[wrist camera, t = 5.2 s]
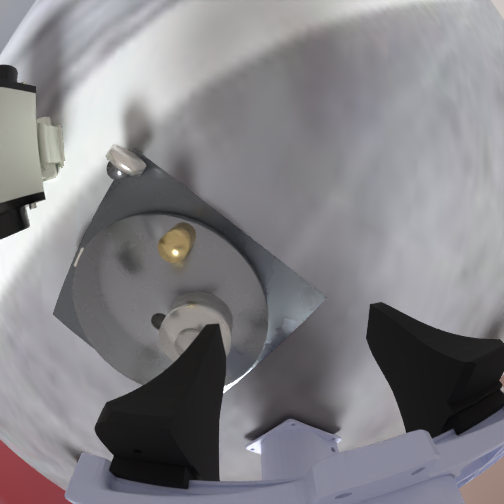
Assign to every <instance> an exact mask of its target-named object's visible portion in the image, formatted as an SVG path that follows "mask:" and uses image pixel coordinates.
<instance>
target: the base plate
mask: <svg viewBox="0 0 504 504" xmlns="http://www.w3.org/2000/svg"><path fill="white" fill-rule="evenodd" d="M132 153H134V154H135V155H137V156H138V157H139V158H141V159H142V160H143V161H144V163H145V164H146V168H145V169H144V171H143V173H142V174H141V175H140V176H139V177H136V176H133V177H127V178H121V179H114V181H113V183H112V184H111V186H110V188H109V190H108V191H107V193H106V195H105V197H104V198H103V200H102V202H101V204H100V206H99V208H98V209H97V211H96V213H95V215H94V217H93V219H92V221H91V223H90V225H89V227H88V229H87V231H86V233H85V235H84V237H83V239H82V242H81V244H80V246H79V248H78V250H77V253H76V255H75V257H74V259H73V262H72V264H71V267H70V269H69V271H68V274H67V276H66V279H65V281H64V284H63V287H62V289H61V292H60V295H59V298H58V300H57V303H56V306H55V309H54V312H53V315H54V316H55V317H56V318H57V319H59V320H60V321H61V322H62V323H63V324H64V325H66V326H67V327H68V328H69V329H70V330H71V331H73V332H74V333H75V334H76V335H78V336H79V337H80V338H81V339H83V340H84V341H85V342H86V343H88V344H89V345H90V346H91V347H93V346H92V345H91V343H90V342H89V340H88V339H87V337H86V335H85V334H84V332H83V329H82V327H81V325H80V323H79V320H78V317H77V314H76V311H75V306H74V301H73V277H74V272H75V268H76V267H75V266H74V263H75V261H76V259H77V257H78V254H79V252H80V250H81V248H82V247H83V246H84V245H86V244H88V243H89V242H90V241H91V239H92V238H93V237H95V236H96V235H97V234H98V233H99V232H100V231H102V230H103V229H105V228H106V227H108V226H109V225H111V224H113V223H115V222H117V221H119V220H122V219H124V218H126V217H129V216H133V215H137V214H141V213H152V212H160V213H172V214H177V215H182V216H186V217H189V218H192V219H194V220H197V221H200V222H202V223H204V224H206V225H208V226H210V227H212V228H213V229H215V230H216V231H218V232H219V233H221V234H222V235H224V236H225V237H227V238H228V239H229V240H230V241H231V242H232V243H233V244H235V245H236V246H237V247H238V248H239V249H240V251H241V252H242V253H243V254H244V255H245V256H246V257H247V259H248V260H249V262H250V263H251V265H252V266H253V268H254V269H255V271H256V273H257V275H258V277H259V279H260V281H261V283H262V287H263V290H264V293H265V297H266V303H267V309H268V332H267V338H266V341H265V344H264V348H263V350H262V352H261V354H260V356H259V358H258V359H257V361H256V362H255V363H254V365H253V366H252V367H251V368H250V369H249V370H248V371H247V372H246V373H245V374H244V375H243V376H241V377H240V378H239V379H237V380H236V381H234V382H232V383H231V384H229V385H227V386H225V387H224V391H223V393H224V392H226V391H227V390H228V389H229V388H231V387H232V386H233V385H234V384H235V383H237V382H238V381H239V380H240V379H241V378H242V377H244V376H245V375H246V374H247V373H248V372H249V371H251V370H252V369H253V368H254V367H255V366H256V365H257V364H258V363H260V362H261V361H262V360H263V359H264V358H265V357H266V356H267V355H268V354H270V353H271V352H272V351H273V350H274V349H275V348H276V347H277V346H278V345H279V344H280V343H282V342H283V341H284V340H285V339H286V338H287V337H288V336H289V335H290V334H291V333H292V332H293V331H294V330H295V329H296V328H297V327H298V326H299V325H300V324H301V323H302V322H303V321H304V320H305V319H306V318H307V317H308V316H309V315H310V314H311V313H312V312H313V311H314V310H315V309H316V308H317V307H318V306H319V305H320V304H321V303H322V302H323V301H324V300H325V299H326V298H327V297H325V296H324V295H323V294H322V293H320V292H319V291H318V290H317V289H315V288H314V287H313V286H312V285H310V284H309V283H308V282H306V281H305V280H304V279H303V278H301V277H300V276H299V275H298V274H296V273H295V272H294V271H293V270H291V269H290V268H289V267H287V266H286V265H285V264H284V263H282V262H281V261H280V260H279V259H277V258H276V257H275V256H273V255H272V254H271V253H270V252H268V251H267V250H266V249H265V248H263V247H262V246H261V245H259V244H258V243H257V242H256V241H254V240H253V239H252V238H250V237H249V236H248V235H247V234H245V233H244V232H243V231H241V230H240V229H239V228H238V227H236V226H235V225H234V224H232V223H231V222H230V221H229V220H227V219H226V218H225V217H223V216H222V215H221V214H220V213H218V212H217V211H216V210H214V209H213V208H212V207H210V206H209V205H208V204H207V203H205V202H204V201H203V200H201V199H200V198H199V197H197V196H196V195H195V194H194V193H192V192H191V191H190V190H188V189H187V188H186V187H184V186H183V185H182V184H181V183H179V182H178V181H177V180H175V179H174V178H173V177H171V176H170V175H169V174H167V173H166V172H165V171H163V170H162V169H161V168H160V167H158V166H157V165H156V164H154V163H153V162H152V161H150V160H149V159H148V158H146V157H145V156H144V155H142V154H141V153H140V152H138V151H137V150H136V149H133V151H132ZM93 348H94V347H93Z"/></svg>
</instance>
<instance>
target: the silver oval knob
mask: <svg viewBox="0 0 504 504" xmlns="http://www.w3.org/2000/svg"><path fill="white" fill-rule="evenodd" d="M106 157H107V159H108V160H109V163H108V165H107V173H108V175H109V176H110V177H111V178H112V179H121V178H127V177H133V176H136V177H139V176H140V175H141V174H142V173H143V171H144V169H145V168H146V164H145V163H144V161H143V160H142V159H141V158H139V157H138V156H137V155H135V154H134V153H132V152H131V151H129V150H127V149H125V148H123V147H121V146H118V145H112V146H111V148H110V149H109V151H108V152H107V154H106Z"/></svg>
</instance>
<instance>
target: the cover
mask: <svg viewBox="0 0 504 504" xmlns="http://www.w3.org/2000/svg"><path fill="white" fill-rule="evenodd" d="M218 323H219V325H220V330H221V334H222V339H223V344H224V349H225V353H226V358H227V356H228V354H229V352H230V346H231V338H232V329H233V317H232V313H231V311H230V309H229V307H228V306H227V305H226V303H225V302H224V301H222V300H221V299H220V298H218V297H217V296H215V295H213V294H211V293H208V292H203V291H192V292H188V293H185V294H183V295H181V296H179V297H178V298H177V299H176V300H175V301H174V302H173V304H172V306H171V307H170V309H169V311H168V313H167V315H166V317H165V318H164V320H163V322H162V324H161V326H160V329H159V342H160V345H161V348H162V349H163V351H164V352H165V354H166V355H167V356H168V357H169V358H170V359H171V360H172V361H174V362H175V361H176V360H177V359H178V358H179V357H180V356H181V354H182V353H183V352H184V351H185V350H186V349H187V348H188V347H189V345H190V344H191V343H192V342H193V341H194V339H195V338H196V337H197V336H198V334H199V333H200V332H201V330H202V329H203V328H204V327H205V325H206V324H218Z"/></svg>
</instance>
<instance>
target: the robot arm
mask: <svg viewBox="0 0 504 504" xmlns="http://www.w3.org/2000/svg"><path fill="white" fill-rule="evenodd" d="M366 339H367V342H368V345H369V347H370V350H371V352H372V355H373V356H374V358H375V360H376V362H377V364H378V365H379V367H380V369H381V371H382V372H383V374H384V376H385V378H386V380H387V381H388V383H389V385H390V387H391V389H392V391H393V393H394V396H395V399H396V401H397V404H398V407H399V410H400V413H401V416H402V419H403V422H404V426H405V430H406V433H405V434H403V435H400V436H397V437H394V438H391V439H388V440H385V441H382V442H378V443H375V444H371V445H368V446H364V447H361V448H357V449H353V450H349V451H344V452H341V453H339V451H338V447H337V444H336V443H338V442H340V441H341V437H339V436H337V435H334V434H331V433H328V432H325V431H322V430H320V429H317V428H314V427H312V426H309V425H306V424H304V423H301V422H299V421H296V420H294V419H287V420H286V421H284V422H283V423H281V424H280V425H278V426H277V427H275V428H274V429H272V430H270V431H269V432H267V433H266V434H264V435H262V436H261V437H259V438H257V439H256V440H254V441H252V442H251V443H249V444H247V445H246V446H245V448H246V449H247V450H250V451H253V452H256V453H259V454H261V466H262V480H261V481H220V480H219V418H220V410H221V403H222V397H223V391H224V384H225V378H226V353H225V349H224V344H223V339H222V334H221V330H220V325H219V323H218V324H206V325H205V327H204V328H203V329H202V330H201V332H200V333H199V334H198V336H197V337H196V338H195V339H194V341H193V342H192V343H191V344H190V345H189V347H188V348H187V349H186V350H185V351H184V352H183V353H182V354H181V356H180V357H179V358H178V359H177V360H176V361H175V362H174V363H173V364H171V365H170V366H169V367H168V368H167V369H166V370H164V371H163V372H162V373H161V374H159V375H158V376H157V377H155V378H154V379H152V380H151V381H149V382H148V383H146V384H145V385H143V386H141V387H140V388H138V389H136V390H134V391H132V392H130V393H128V394H126V395H124V396H121V397H119V398H116V399H114V400H111V401H109V402H106V404H105V406H104V408H103V410H102V412H101V414H100V416H99V419H98V421H97V423H96V425H95V432H96V434H97V436H98V438H99V439H100V440H101V442H102V443H103V444H104V445H105V446H106V447H107V449H108V450H109V451H110V452H111V453H112V454H113V455H114V457H113V460H112V462H111V461H109V460H107V459H105V458H102V457H99V456H95V455H91V454H88V453H84V452H83V453H81V456H80V458H79V460H78V463H77V465H76V468H75V470H74V473H73V475H72V477H71V480H70V483H69V485H68V488H67V490H66V493H65V498H66V499H67V500H69V501H70V502H72V503H73V504H465V502H464V500H463V498H462V495H461V493H460V491H459V488H460V487H462V486H463V485H465V484H467V483H468V482H469V481H471V480H472V479H474V478H475V477H477V476H478V475H479V474H481V473H482V472H483V471H485V470H486V469H488V468H489V467H490V466H492V465H493V464H494V463H496V462H497V461H498V460H499V459H501V458H502V457H503V456H504V393H503V392H502V391H501V390H500V389H501V388H502V383H501V382H500V381H499V380H500V378H501V376H502V374H503V372H504V343H503V342H502V341H501V340H500V339H479V338H471V337H465V336H460V335H456V334H452V333H449V332H445V331H442V330H439V329H436V328H434V327H431V326H429V325H427V324H424V323H422V322H420V321H418V320H416V319H414V318H412V317H410V316H408V315H406V314H404V313H402V312H400V311H398V310H396V309H394V308H392V307H391V306H389V305H386V304H384V303H382V302H380V303H374V304H370V310H369V319H368V328H367V335H366Z"/></svg>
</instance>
